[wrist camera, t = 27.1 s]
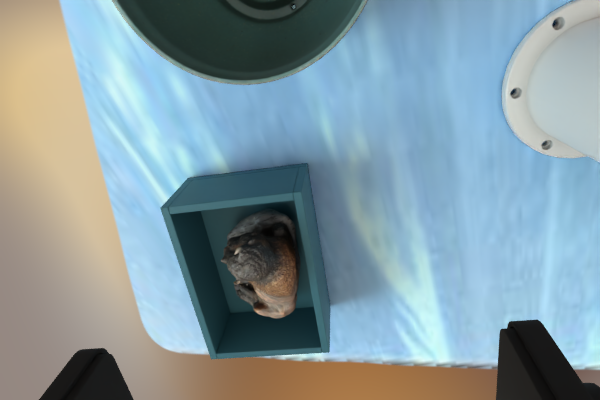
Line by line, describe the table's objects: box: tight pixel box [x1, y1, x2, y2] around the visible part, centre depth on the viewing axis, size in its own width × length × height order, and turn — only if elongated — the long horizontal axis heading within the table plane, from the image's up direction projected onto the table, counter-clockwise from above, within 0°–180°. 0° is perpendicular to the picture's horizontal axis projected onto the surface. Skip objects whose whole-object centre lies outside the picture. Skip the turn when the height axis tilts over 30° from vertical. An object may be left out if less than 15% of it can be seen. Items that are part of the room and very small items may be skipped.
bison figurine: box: [221, 209, 301, 318], centre depth 36 cm, size 12×7×10 cm, turn 6°
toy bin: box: [161, 163, 330, 359], centre depth 38 cm, size 12×17×7 cm
